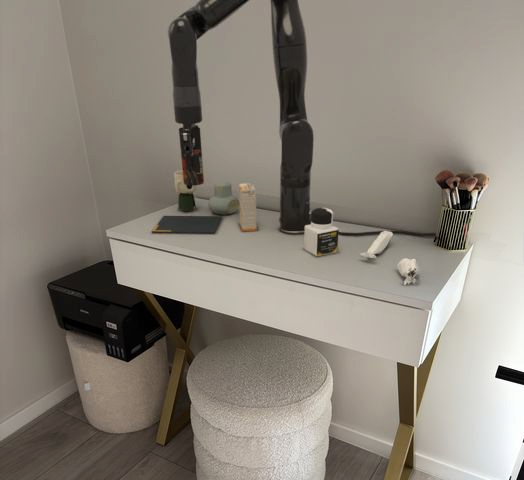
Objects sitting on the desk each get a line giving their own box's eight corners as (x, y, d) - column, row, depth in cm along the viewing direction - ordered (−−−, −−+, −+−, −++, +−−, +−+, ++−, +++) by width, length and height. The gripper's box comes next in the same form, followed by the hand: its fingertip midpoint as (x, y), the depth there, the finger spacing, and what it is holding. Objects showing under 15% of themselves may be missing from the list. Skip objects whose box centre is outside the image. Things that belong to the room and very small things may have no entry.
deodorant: (202, 185, 154) (198, 130, 146) (182, 185, 154) (177, 130, 146) (204, 180, 159) (201, 126, 151) (185, 180, 159) (180, 126, 151)
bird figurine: (423, 288, 134) (413, 264, 141) (424, 267, 130) (413, 243, 137) (403, 292, 135) (394, 268, 142) (403, 271, 130) (394, 247, 137)
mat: (221, 217, 181) (221, 215, 180) (214, 234, 167) (214, 231, 167) (164, 217, 182) (163, 215, 182) (152, 233, 169) (151, 231, 168)
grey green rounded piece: (224, 218, 180) (222, 188, 175) (205, 214, 184) (203, 185, 179) (242, 210, 188) (241, 181, 183) (224, 206, 192) (222, 178, 186)
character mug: (188, 215, 183) (184, 177, 177) (170, 213, 186) (166, 175, 179) (203, 206, 192) (201, 169, 185) (186, 204, 194) (183, 168, 188)
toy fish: (395, 244, 157) (397, 231, 155) (375, 265, 144) (377, 251, 142) (377, 241, 160) (379, 228, 158) (356, 262, 146) (357, 248, 144)
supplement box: (257, 230, 169) (256, 189, 162) (242, 231, 169) (240, 190, 162) (254, 222, 176) (253, 182, 169) (239, 223, 176) (238, 183, 169)
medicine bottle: (316, 257, 150) (318, 215, 143) (303, 249, 155) (304, 208, 149) (337, 252, 153) (340, 211, 146) (324, 244, 158) (326, 204, 152)
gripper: (196, 107, 139) (201, 173, 148) (205, 100, 151) (209, 161, 160) (168, 107, 140) (174, 172, 149) (179, 100, 152) (184, 161, 161)
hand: (192, 166), depth 154 cm, fingers closed on deodorant, 6 cm apart
